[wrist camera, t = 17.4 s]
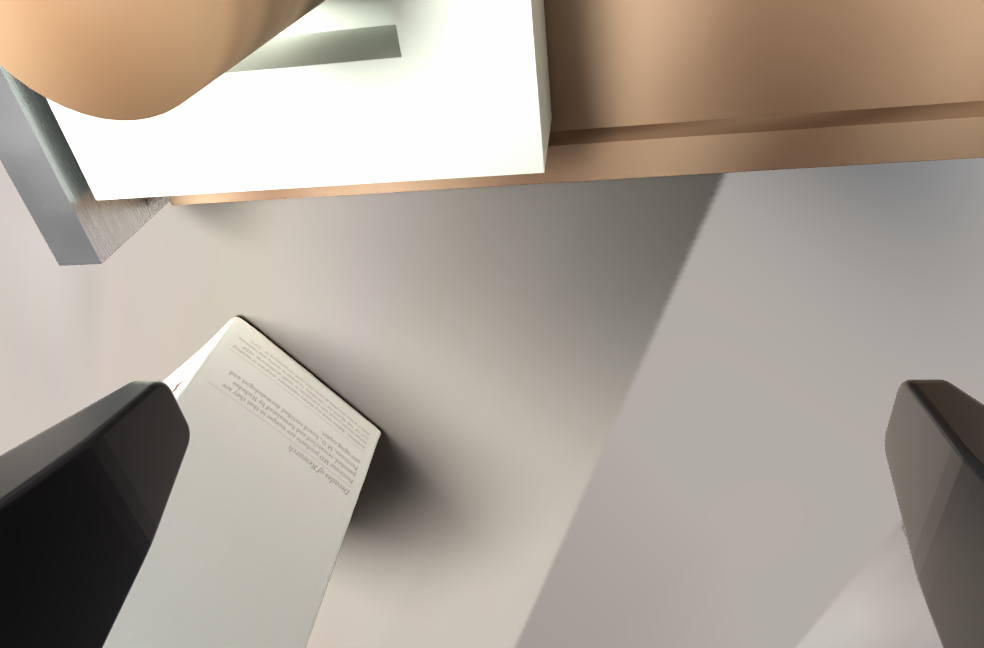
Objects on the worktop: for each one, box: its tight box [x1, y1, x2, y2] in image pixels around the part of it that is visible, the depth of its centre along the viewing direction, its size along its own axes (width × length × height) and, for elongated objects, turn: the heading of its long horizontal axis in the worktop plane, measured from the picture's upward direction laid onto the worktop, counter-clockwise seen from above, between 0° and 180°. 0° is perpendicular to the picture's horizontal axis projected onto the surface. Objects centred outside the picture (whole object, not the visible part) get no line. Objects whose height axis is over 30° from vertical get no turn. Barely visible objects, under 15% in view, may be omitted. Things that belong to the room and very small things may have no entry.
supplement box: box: [103, 317, 381, 648], centre depth 23 cm, size 7×7×13 cm
